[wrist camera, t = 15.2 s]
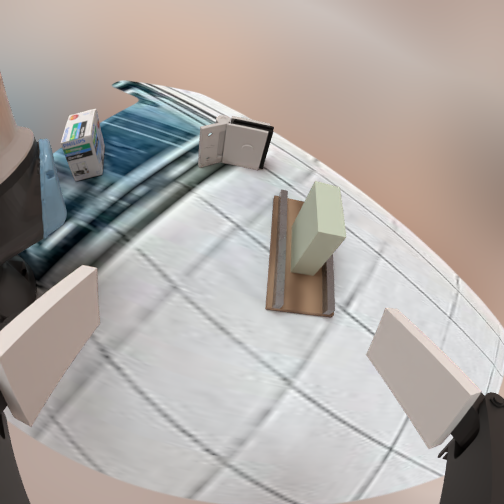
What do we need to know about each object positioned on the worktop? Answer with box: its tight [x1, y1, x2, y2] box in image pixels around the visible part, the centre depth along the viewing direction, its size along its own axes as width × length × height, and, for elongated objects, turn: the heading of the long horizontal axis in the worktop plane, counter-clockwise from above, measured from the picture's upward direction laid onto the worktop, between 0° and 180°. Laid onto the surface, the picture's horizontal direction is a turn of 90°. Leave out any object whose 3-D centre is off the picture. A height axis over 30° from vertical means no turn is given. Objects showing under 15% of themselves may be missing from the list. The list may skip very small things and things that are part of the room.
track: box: [265, 190, 335, 317], centre depth 46 cm, size 11×22×3 cm, turn 175°
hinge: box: [198, 115, 274, 170], centre depth 52 cm, size 14×5×10 cm, turn 96°
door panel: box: [291, 181, 346, 276], centre depth 42 cm, size 4×9×12 cm, turn 175°
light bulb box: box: [61, 109, 105, 181], centre depth 45 cm, size 11×7×11 cm, turn 19°
